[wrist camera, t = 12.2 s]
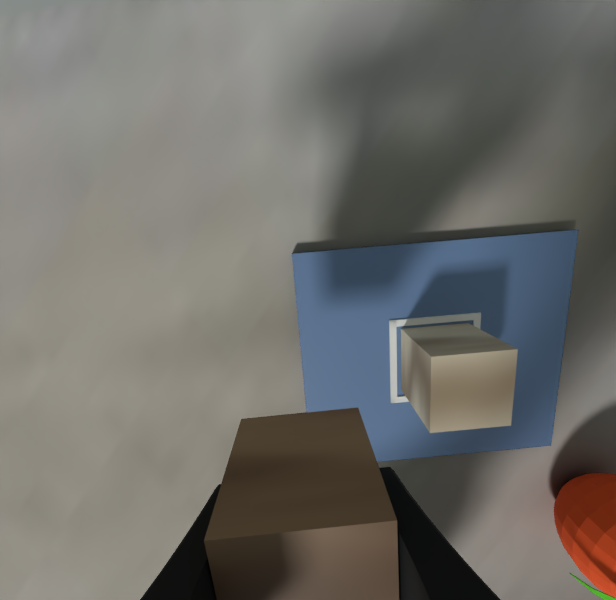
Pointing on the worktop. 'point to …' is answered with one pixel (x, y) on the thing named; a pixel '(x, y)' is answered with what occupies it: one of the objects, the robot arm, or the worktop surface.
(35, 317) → the worktop surface
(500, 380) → the maple block
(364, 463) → the walnut block
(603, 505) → the clementine
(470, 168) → the worktop surface
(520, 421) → the board
